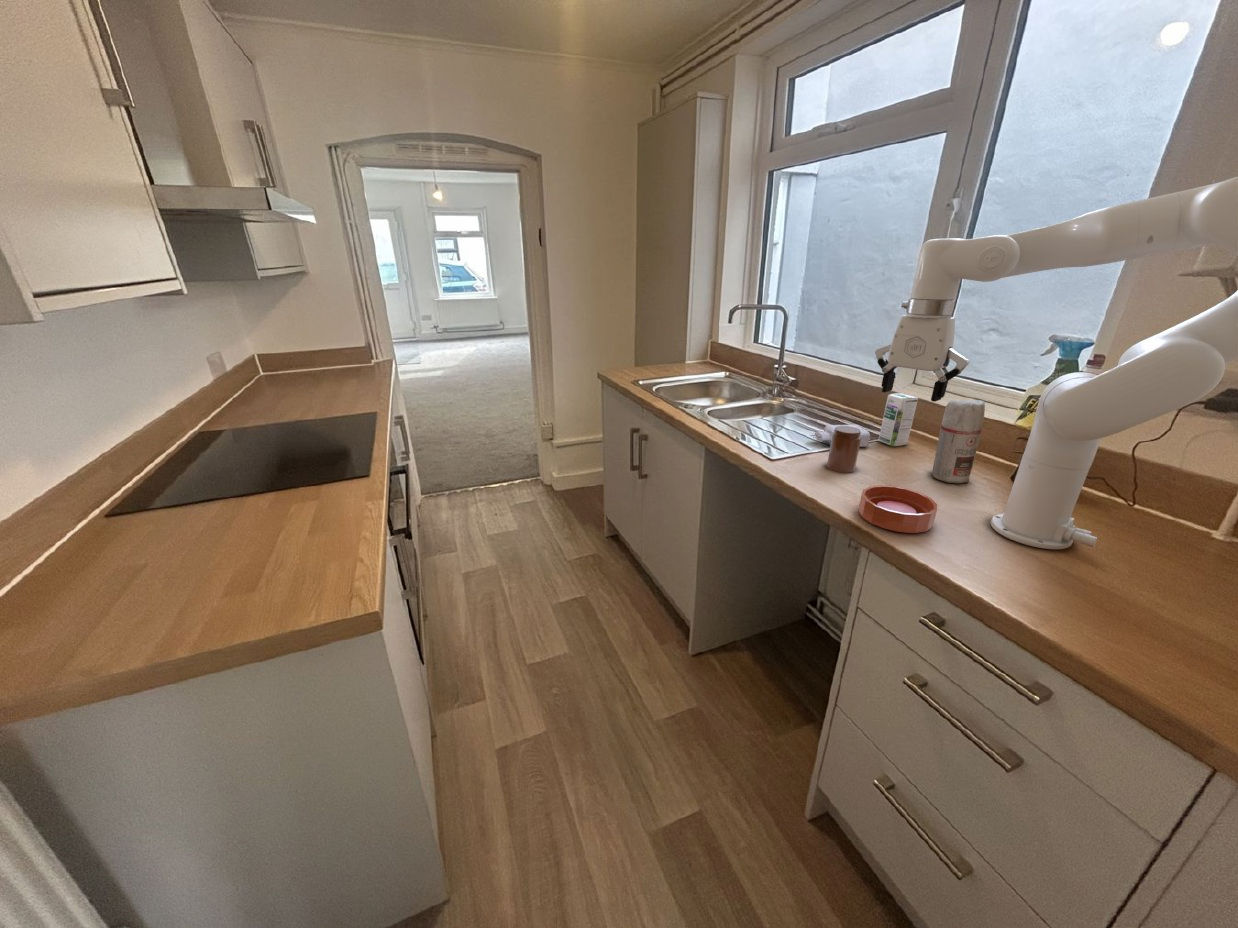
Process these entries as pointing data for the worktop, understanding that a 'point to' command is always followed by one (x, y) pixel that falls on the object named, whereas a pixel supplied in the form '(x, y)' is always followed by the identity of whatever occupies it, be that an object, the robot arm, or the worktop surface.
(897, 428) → the syrup box
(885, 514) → the dish
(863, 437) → the charger
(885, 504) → the lid
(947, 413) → the spray can
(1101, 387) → the robot arm
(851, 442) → the jar
